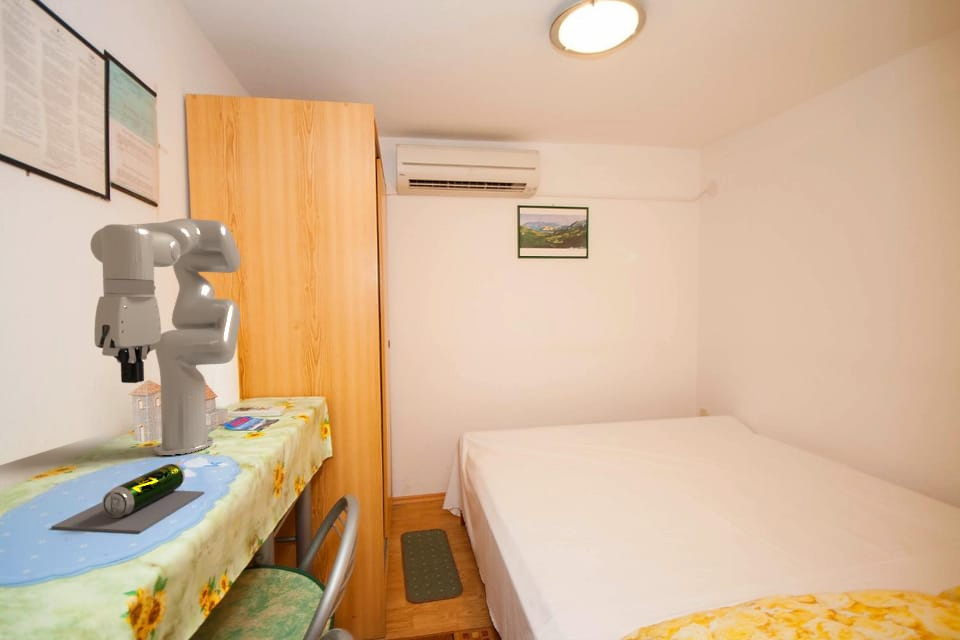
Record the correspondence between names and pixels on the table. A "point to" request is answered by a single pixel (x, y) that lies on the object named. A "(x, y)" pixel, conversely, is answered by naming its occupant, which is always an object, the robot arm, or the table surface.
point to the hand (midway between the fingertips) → (132, 381)
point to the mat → (134, 521)
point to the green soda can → (142, 490)
